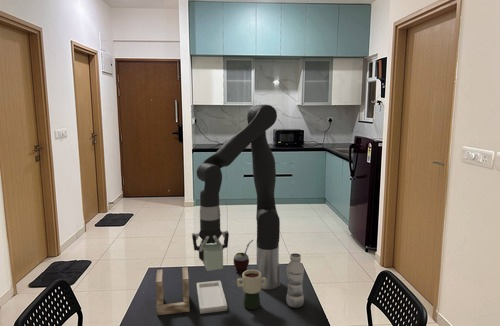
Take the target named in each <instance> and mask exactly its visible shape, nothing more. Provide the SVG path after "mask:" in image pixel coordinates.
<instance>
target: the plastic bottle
mask: <svg viewBox="0 0 500 326" xmlns="http://www.w3.org/2000/svg"><path fill="white" fill-rule="evenodd" d="M301 257H302V255H301V254H300V253H295V252H294V253H291V254H290V257H289V260H290V261H289V263H288V264H286V277H287V292H286V297H285V300H286V304H287V305H288V306H289V307H291V308H294V309H296V308H297V309H298V308H301V307H302V306H303V305H304V303H305V298H304V290H303V289H304V288H303V281H304V280H303V279H304V274H305V268H304V265H303V263H302V262H301V261H302V258H301Z"/></svg>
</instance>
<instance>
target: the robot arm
mask: <svg viewBox="0 0 500 326" xmlns="http://www.w3.org/2000/svg"><path fill="white" fill-rule="evenodd" d="M246 117H247V118H246V119H247V125H246V126H245V127H244V128H243V129H241V130H240V131H239V132H237V133H236V134H234V135H232V136H231V137H230V138H229V139H227V140H226V141H225V142H224V143H223V144H222V145H221V147H219V149H218V150H216V152H215V153H213V154H212V155H210V156H209V157H207V158H206V159H204V160H203V161H202V162H201V163H200V164H199V166H198V167H197V168H196V169H197V170H196V177H197V179H198V180H199V181H201V182H204V187H203V189H202V190H201V191H200V194H199V200H200V202H199V226H200V227H199V229H200V230H199V232H198V233H191V237H192V238H191V239H192V244H193V251H195V252H196V251H197V252H198V258H199V260H200V261H201V262H202V261H203V247H204V246H205V245H206V243H207V244H209V243H215V242H216V243H217V245H220V247H221V248H222V250H223V251H224V249H226V248H228V247H229V238H230V235H229V232H228V230H225V231H222V230H221V208H220V191H221V187H222V182H223V173H222V168H224V167H229V166H230V165H231V164H232V163H233V162H234V161H235V160H236V159H237V158H238V156H240V155H241V153H242V152H243V151H245V149H247V148H248V147H249V145H250V147H251V148H250V149H251V157H252V158H251V159H252V174H253V175H252V176H253V183H254V187H255V193H256V216H255V217H256V218H255V219H256V270H257V271H259V272H260V273H261V278H266V286H261V290H266V291H267V290H274V289H277V288H278V287H281V264H280V263H279V262H280V261H279V259H280V258H279V257H280V256H279V255H280V254H279V253H280V252H279V249H280V248H279V245H280V234H281V232H280V229H281V221H280V216H279V213H278V211H277V207H276V201H275V188H276V179H277V177H276V175H277V174H276V173H277V171H276V169H277V168H276V160H275V157H274V154H273V152H272V149H271V147H270V146H269V143H268V139H267V130H269V129H270V128H272V127H273V125H275V123H276V121H277V118H278V114H277V110H276V108H275V107H274V106H273V105H270V104H258V105H257V104H256V105H253V106H251V107H250V108H249V109H248V111H247V116H246ZM221 236H222V237H223V243H222V242H221V241H220V238H221ZM199 237H200V239H201V240H200V241H201V244H199V245H197V240H198V239H199ZM261 284H264V280H261Z"/></svg>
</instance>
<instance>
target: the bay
mask: <svg viewBox="0 0 500 326" xmlns="http://www.w3.org/2000/svg"><path fill="white" fill-rule="evenodd" d="M181 269H182V270H181V271H182V297H183V298H182V299H183V301H181V302H174V303H173V302H171V303H164V278H163V277H164V274H163V273H164V272H163V269H157V270H156V276H155V288H156V289H155V291H156V292H155V293H156V295H155V296H156V315H157V316H162V315H169V314H171V315H172V314H179V313H186V312H187V313H189V312H191V311H190V286H189V284H190V283H189V282H190V281H189V271H188V270H189V269H188V266H187V267H182V268H181Z"/></svg>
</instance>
